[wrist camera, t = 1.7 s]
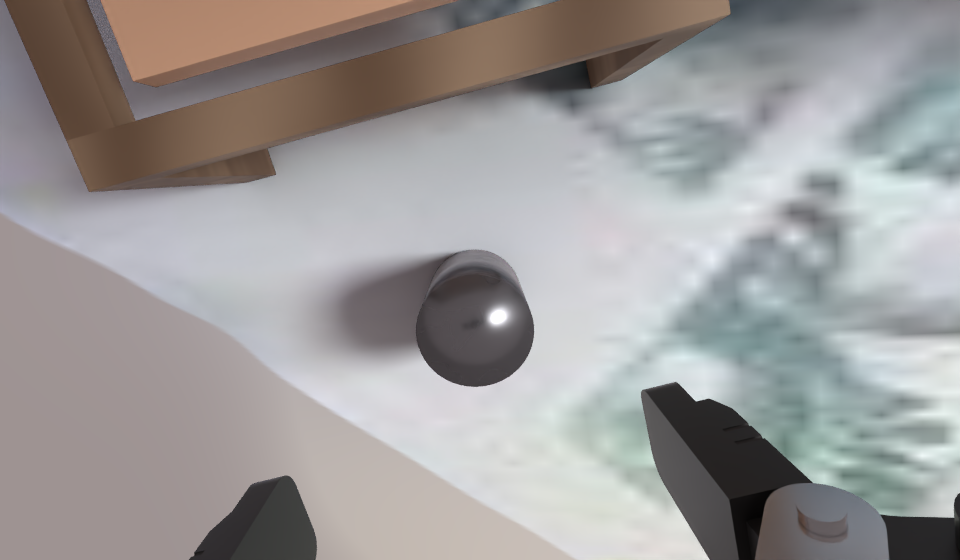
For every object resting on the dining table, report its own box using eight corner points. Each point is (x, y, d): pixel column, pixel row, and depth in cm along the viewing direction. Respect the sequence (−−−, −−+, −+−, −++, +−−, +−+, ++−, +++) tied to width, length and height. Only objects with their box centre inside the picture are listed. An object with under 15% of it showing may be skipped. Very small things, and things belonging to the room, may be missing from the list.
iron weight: (508, 239, 25) (518, 261, 19) (529, 325, 26) (545, 371, 20) (419, 262, 25) (401, 291, 19) (443, 346, 26) (434, 398, 20)
